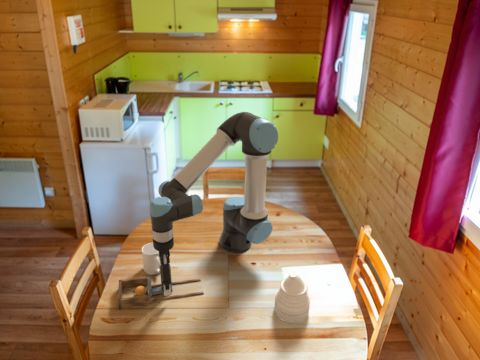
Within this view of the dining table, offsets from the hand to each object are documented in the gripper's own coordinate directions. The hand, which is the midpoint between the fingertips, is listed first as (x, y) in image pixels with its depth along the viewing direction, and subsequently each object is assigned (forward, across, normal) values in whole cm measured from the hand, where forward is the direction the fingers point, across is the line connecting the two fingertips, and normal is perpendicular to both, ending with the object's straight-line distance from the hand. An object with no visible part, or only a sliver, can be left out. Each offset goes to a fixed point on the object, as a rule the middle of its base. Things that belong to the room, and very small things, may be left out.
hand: (166, 284), depth 155 cm
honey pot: (+4, +20, +45) cm, 49 cm away
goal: (+4, 0, -13) cm, 13 cm away
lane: (+4, 0, +3) cm, 5 cm away
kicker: (+3, 0, -3) cm, 4 cm away
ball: (+2, 0, -10) cm, 10 cm away
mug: (+4, -14, -4) cm, 15 cm away
